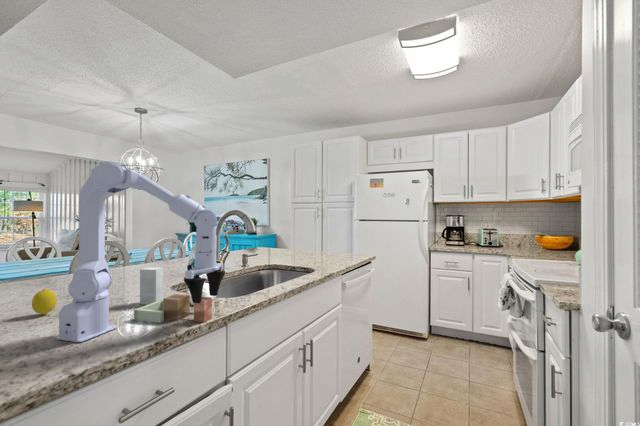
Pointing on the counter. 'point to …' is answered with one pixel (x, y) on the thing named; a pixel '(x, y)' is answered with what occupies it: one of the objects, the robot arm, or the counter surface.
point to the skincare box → (151, 285)
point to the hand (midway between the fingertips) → (205, 298)
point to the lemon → (44, 301)
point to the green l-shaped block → (150, 312)
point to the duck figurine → (204, 291)
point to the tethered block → (186, 308)
